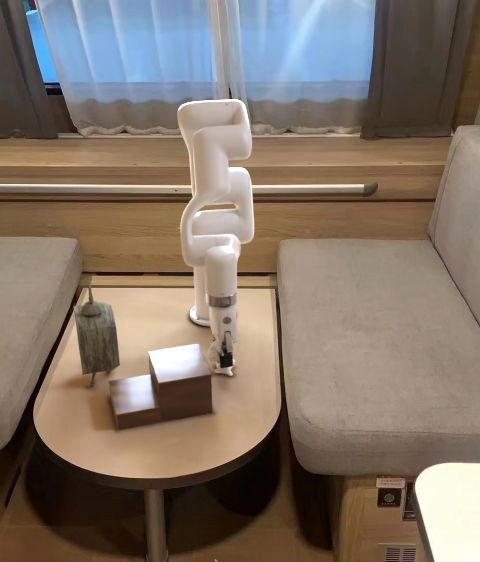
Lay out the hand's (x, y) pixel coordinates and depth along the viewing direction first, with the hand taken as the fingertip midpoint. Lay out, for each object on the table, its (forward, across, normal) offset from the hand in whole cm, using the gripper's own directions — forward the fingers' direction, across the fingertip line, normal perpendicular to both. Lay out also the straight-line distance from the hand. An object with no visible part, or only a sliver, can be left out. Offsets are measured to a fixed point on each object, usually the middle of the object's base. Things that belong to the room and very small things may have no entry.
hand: (222, 358), depth 189 cm
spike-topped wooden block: (+3, +6, +30) cm, 31 cm away
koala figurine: (+3, -1, 0) cm, 3 cm away
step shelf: (+3, -11, +18) cm, 21 cm away
